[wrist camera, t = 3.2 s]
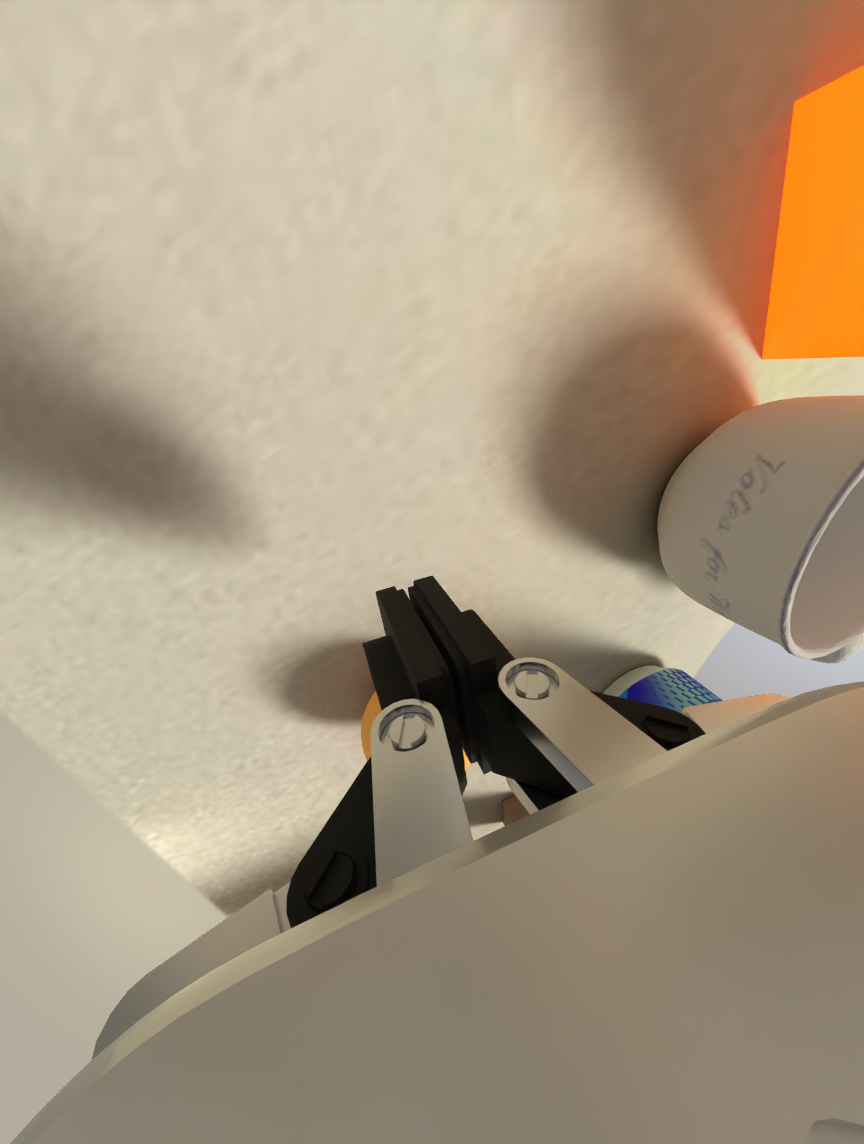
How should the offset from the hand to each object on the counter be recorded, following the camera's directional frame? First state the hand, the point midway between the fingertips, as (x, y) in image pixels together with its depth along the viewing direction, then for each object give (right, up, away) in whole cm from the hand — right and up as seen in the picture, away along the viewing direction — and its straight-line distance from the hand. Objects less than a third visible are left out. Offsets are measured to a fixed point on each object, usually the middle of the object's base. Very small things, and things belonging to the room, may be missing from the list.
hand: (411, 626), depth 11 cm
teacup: (+16, +5, +11) cm, 20 cm away
